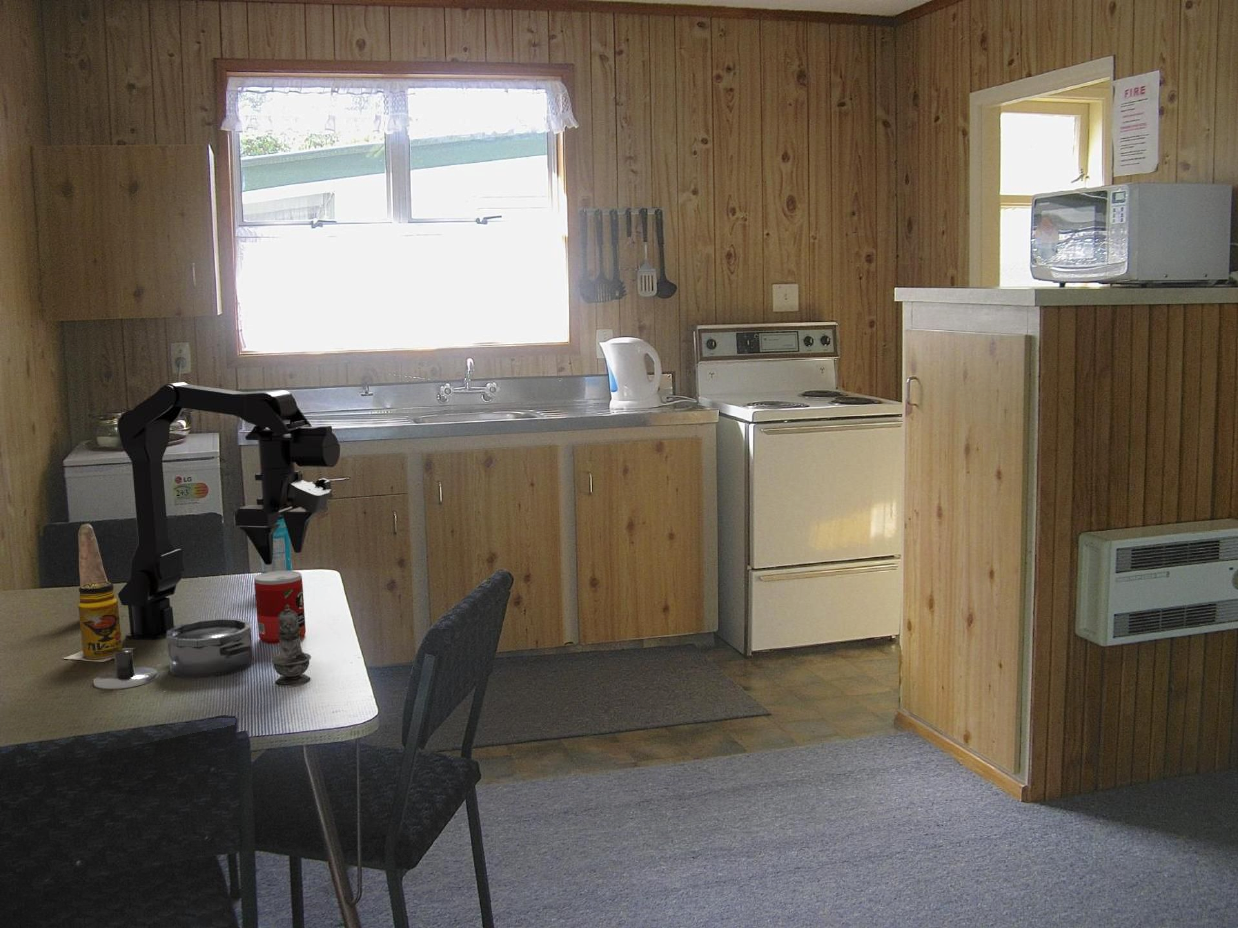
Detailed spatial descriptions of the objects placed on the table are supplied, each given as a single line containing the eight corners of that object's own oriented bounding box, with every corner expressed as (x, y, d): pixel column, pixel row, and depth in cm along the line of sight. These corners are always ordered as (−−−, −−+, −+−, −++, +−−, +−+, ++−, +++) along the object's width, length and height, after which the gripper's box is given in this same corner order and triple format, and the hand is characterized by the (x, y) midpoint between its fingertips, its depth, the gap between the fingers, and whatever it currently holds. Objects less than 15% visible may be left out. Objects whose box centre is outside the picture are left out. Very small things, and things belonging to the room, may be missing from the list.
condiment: (105, 662, 200) (98, 590, 198) (62, 659, 202) (55, 588, 201) (135, 649, 207) (128, 580, 205) (93, 646, 209) (87, 578, 207)
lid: (81, 689, 187) (77, 659, 186) (117, 671, 196) (114, 642, 195) (135, 691, 185) (132, 661, 184) (169, 672, 194) (166, 643, 193)
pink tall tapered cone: (114, 614, 233) (80, 622, 229) (98, 521, 232) (63, 527, 229) (122, 616, 228) (88, 623, 224) (106, 520, 227) (71, 526, 224)
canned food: (294, 645, 206) (289, 581, 204) (250, 644, 207) (245, 580, 206) (314, 632, 213) (309, 570, 212) (271, 631, 215) (267, 570, 213)
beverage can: (299, 587, 247) (294, 514, 245) (277, 594, 242) (271, 519, 240) (278, 584, 250) (273, 512, 248) (256, 591, 245) (250, 517, 243)
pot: (147, 665, 197) (144, 629, 196) (218, 646, 206) (216, 612, 205) (204, 686, 185) (201, 647, 184) (277, 665, 194) (274, 628, 194)
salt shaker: (276, 676, 189) (271, 600, 187) (315, 674, 189) (310, 598, 188) (269, 688, 183) (263, 610, 181) (309, 686, 184) (303, 608, 182)
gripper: (290, 476, 193) (297, 573, 195) (348, 459, 211) (353, 548, 213) (228, 474, 196) (235, 570, 198) (290, 458, 214) (296, 546, 216)
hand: (283, 558), depth 206 cm, fingers open, 9 cm apart
